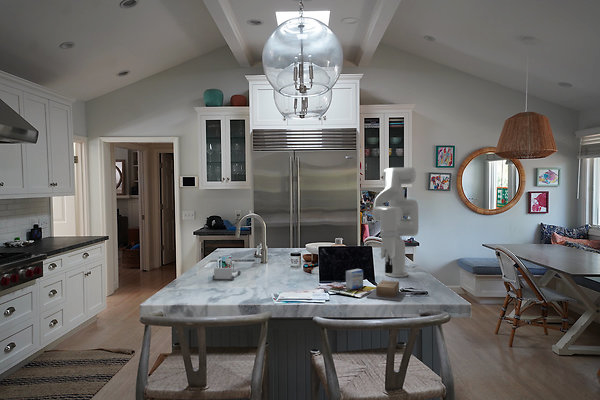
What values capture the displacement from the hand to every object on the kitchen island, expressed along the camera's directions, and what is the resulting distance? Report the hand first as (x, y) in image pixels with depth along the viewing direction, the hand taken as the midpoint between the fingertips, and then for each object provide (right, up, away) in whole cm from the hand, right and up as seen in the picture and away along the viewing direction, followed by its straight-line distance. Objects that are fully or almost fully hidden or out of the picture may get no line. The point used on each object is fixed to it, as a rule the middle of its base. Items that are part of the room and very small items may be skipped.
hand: (388, 272), depth 187 cm
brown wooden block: (+2, -7, +3) cm, 8 cm away
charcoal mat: (-2, -10, -4) cm, 11 cm away
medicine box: (-15, -10, +12) cm, 21 cm away
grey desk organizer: (-83, -10, +38) cm, 92 cm away
